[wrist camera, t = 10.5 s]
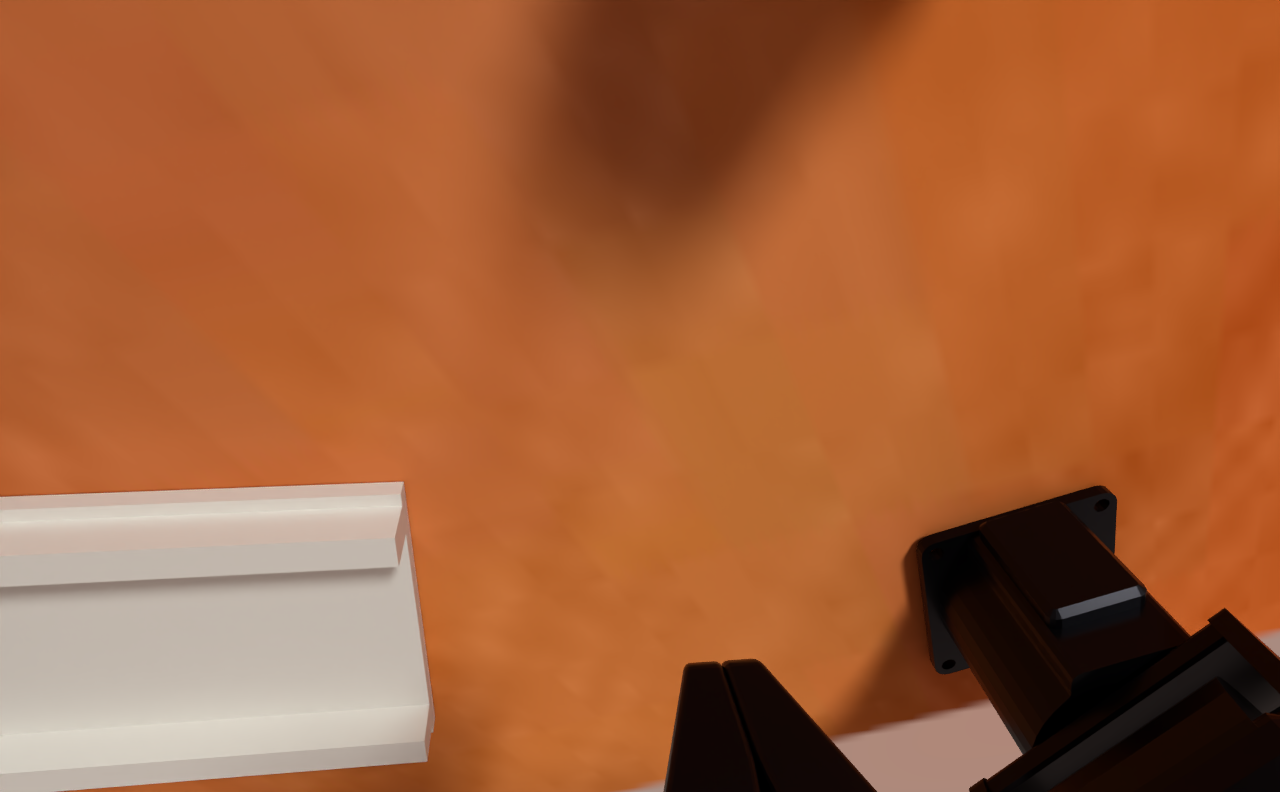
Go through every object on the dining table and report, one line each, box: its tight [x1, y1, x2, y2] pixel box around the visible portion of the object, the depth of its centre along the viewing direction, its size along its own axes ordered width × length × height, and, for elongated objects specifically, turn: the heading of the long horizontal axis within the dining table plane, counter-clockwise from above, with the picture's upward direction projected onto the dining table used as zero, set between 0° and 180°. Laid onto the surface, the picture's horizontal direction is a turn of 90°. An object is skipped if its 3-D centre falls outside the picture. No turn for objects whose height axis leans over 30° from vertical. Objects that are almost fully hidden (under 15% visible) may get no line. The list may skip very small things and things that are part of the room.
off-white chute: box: [0, 482, 435, 792], centre depth 23 cm, size 15×10×2 cm, turn 88°
